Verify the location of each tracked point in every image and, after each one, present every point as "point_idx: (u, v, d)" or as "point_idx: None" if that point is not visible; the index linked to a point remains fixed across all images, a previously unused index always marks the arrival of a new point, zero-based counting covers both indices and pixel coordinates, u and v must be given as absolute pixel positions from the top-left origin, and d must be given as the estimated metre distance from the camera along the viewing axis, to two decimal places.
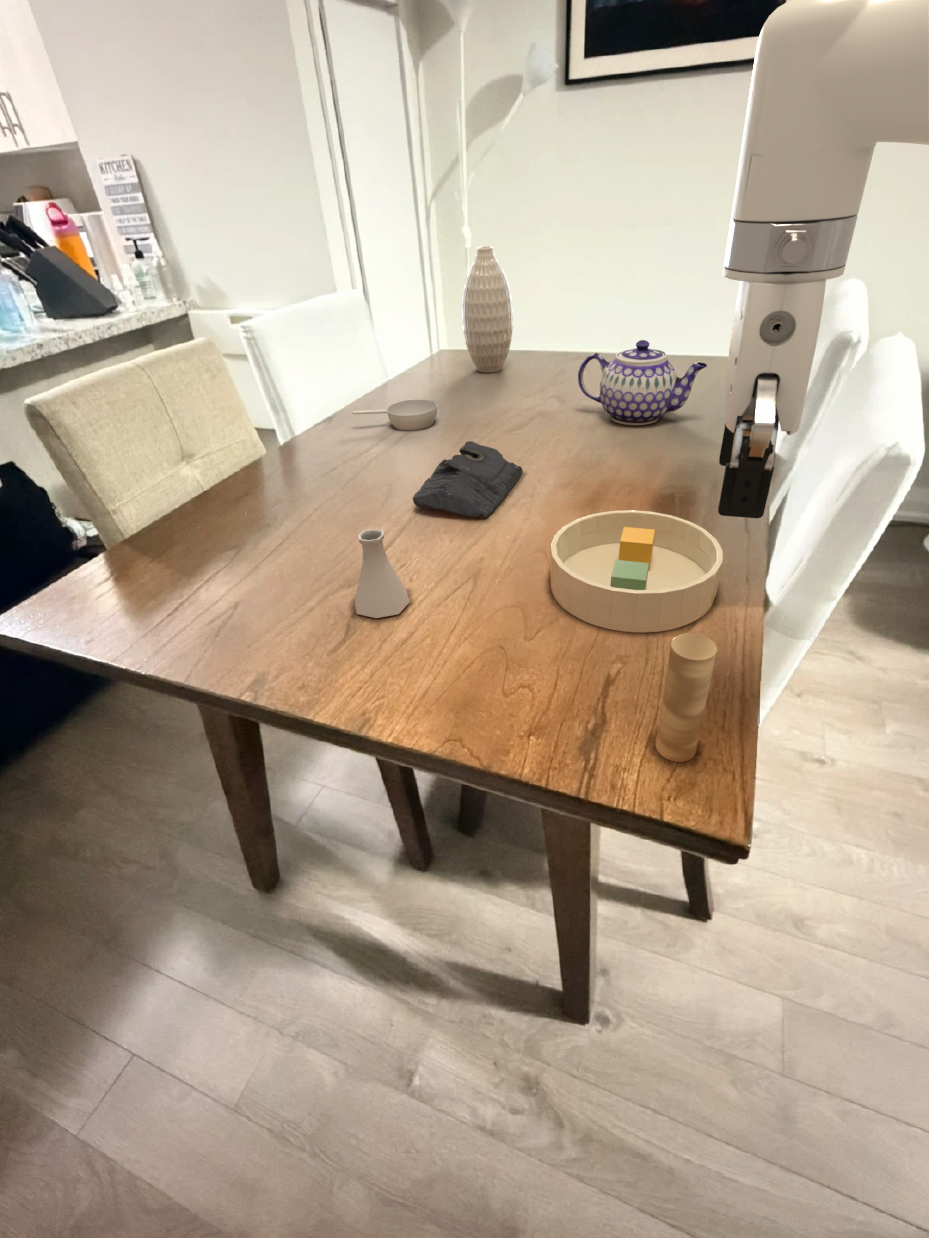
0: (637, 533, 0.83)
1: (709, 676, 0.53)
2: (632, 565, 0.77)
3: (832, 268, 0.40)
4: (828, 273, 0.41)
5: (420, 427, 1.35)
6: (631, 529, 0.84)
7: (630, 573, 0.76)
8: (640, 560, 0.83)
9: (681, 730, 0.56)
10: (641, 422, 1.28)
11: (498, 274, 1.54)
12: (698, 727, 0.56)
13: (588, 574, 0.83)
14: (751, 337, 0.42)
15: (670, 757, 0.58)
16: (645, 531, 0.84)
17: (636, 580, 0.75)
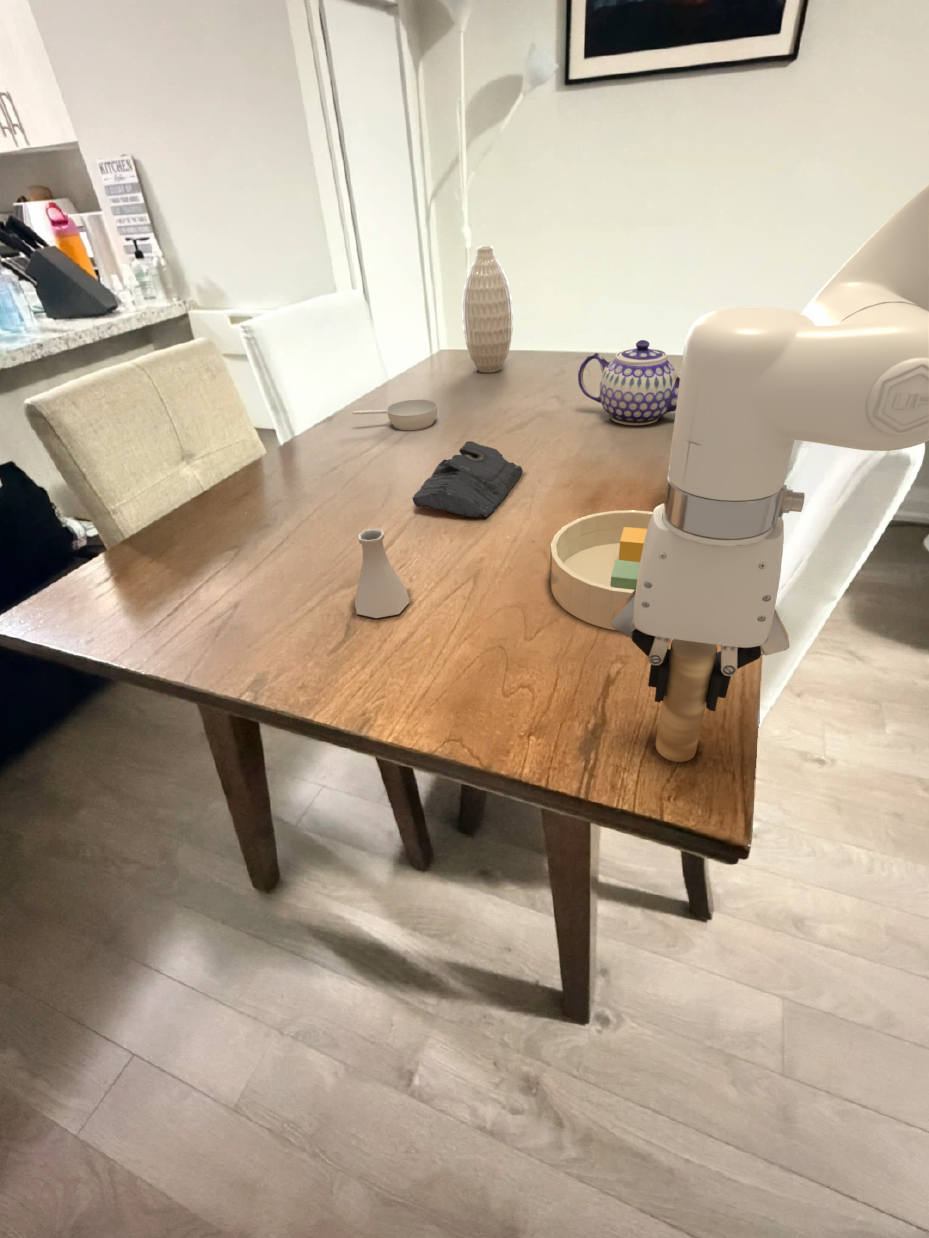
0: (637, 533, 0.83)
1: (709, 676, 0.53)
2: (632, 565, 0.77)
3: None
4: None
5: (420, 427, 1.35)
6: (631, 529, 0.84)
7: (630, 573, 0.76)
8: (640, 560, 0.83)
9: (681, 730, 0.56)
10: (641, 422, 1.28)
11: (498, 274, 1.54)
12: (698, 727, 0.56)
13: (588, 574, 0.83)
14: (779, 574, 0.45)
15: (670, 757, 0.58)
16: (645, 531, 0.84)
17: (636, 580, 0.75)
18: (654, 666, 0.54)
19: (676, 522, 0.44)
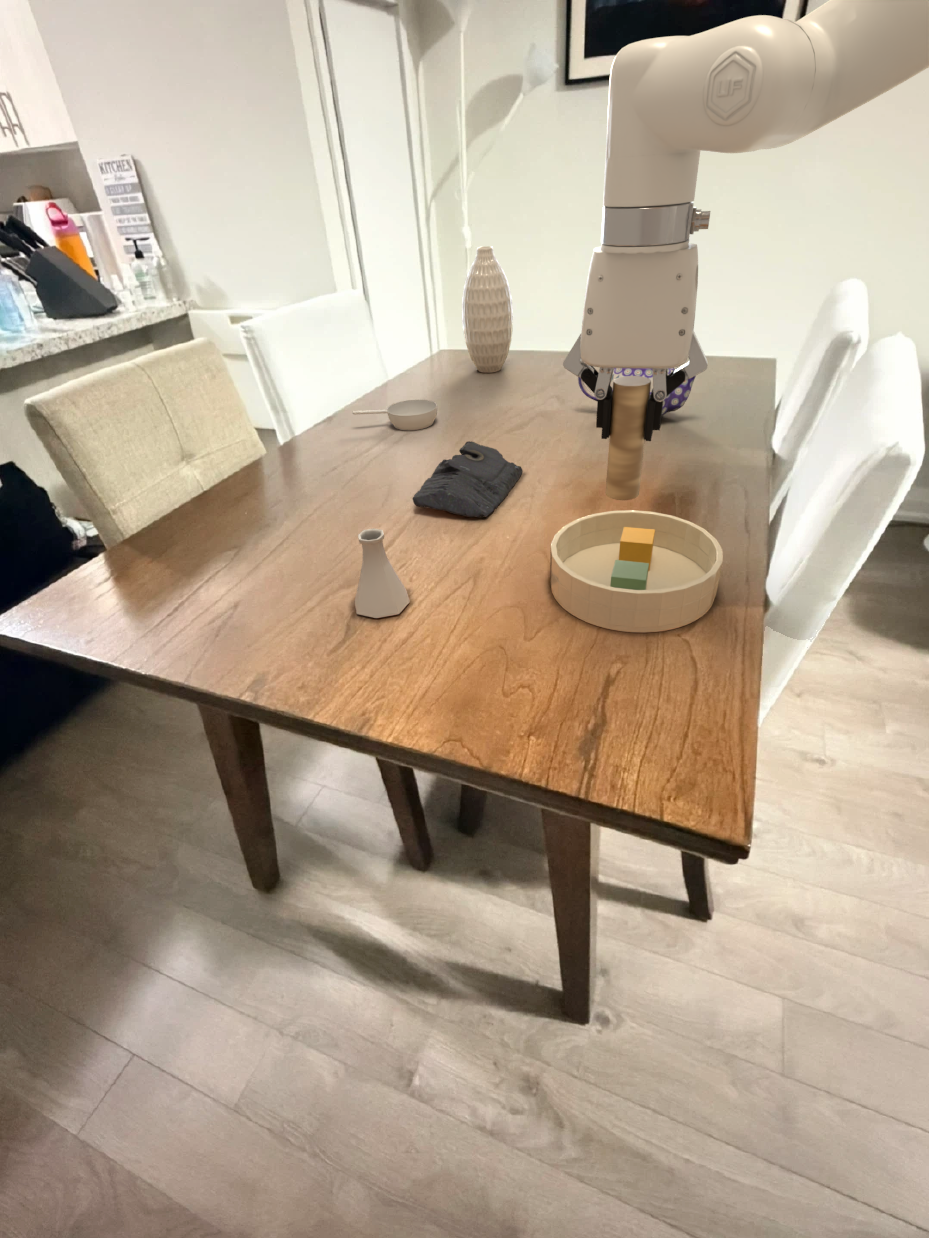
0: (637, 533, 0.83)
1: (645, 407, 0.63)
2: (632, 565, 0.77)
3: None
4: None
5: (420, 427, 1.35)
6: (631, 529, 0.84)
7: (630, 573, 0.76)
8: (640, 560, 0.83)
9: (624, 465, 0.67)
10: None
11: (498, 274, 1.54)
12: (639, 463, 0.67)
13: (588, 574, 0.83)
14: (693, 288, 0.56)
15: (617, 496, 0.69)
16: (645, 531, 0.84)
17: (636, 580, 0.75)
18: (600, 403, 0.65)
19: (609, 240, 0.55)
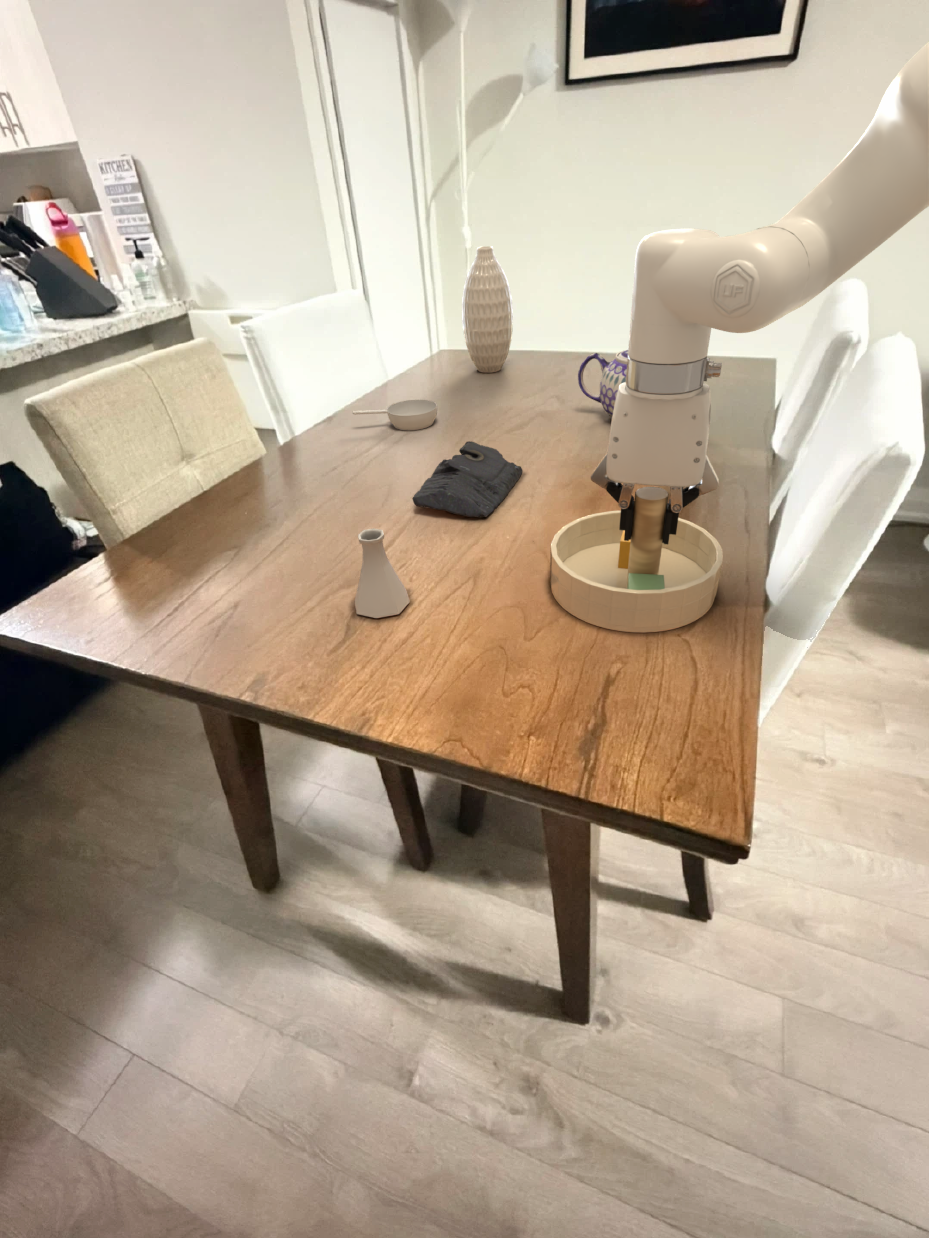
0: None
1: (663, 516, 0.72)
2: (647, 578, 0.74)
3: None
4: None
5: (420, 427, 1.35)
6: None
7: (648, 587, 0.73)
8: None
9: (644, 563, 0.75)
10: None
11: (498, 274, 1.54)
12: (657, 561, 0.75)
13: (588, 574, 0.83)
14: (707, 425, 0.64)
15: None
16: None
17: None
18: (623, 511, 0.73)
19: (633, 386, 0.63)
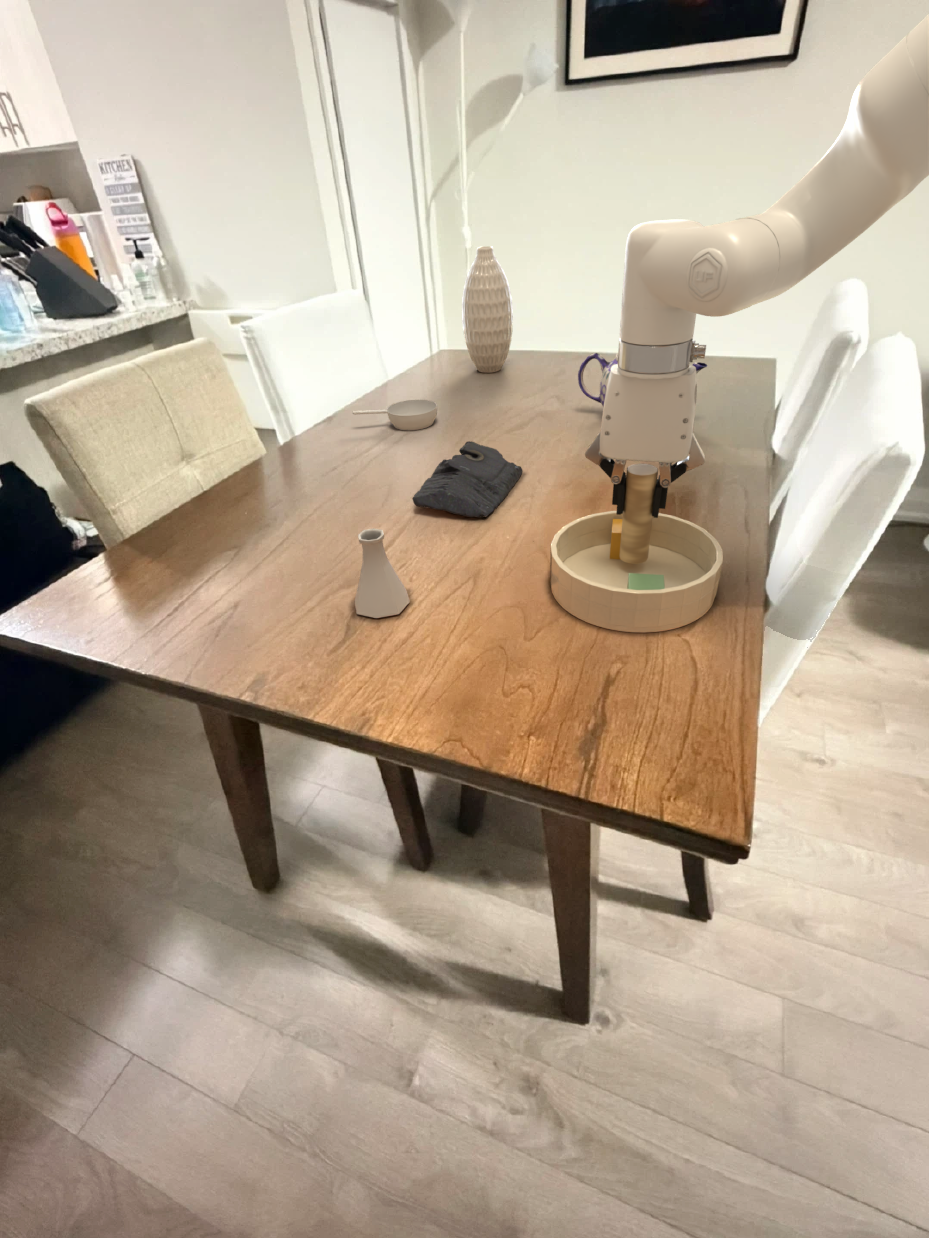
0: None
1: (653, 490, 0.76)
2: (647, 578, 0.74)
3: None
4: None
5: (420, 427, 1.35)
6: (620, 521, 0.86)
7: (648, 587, 0.73)
8: None
9: (635, 536, 0.80)
10: None
11: (498, 274, 1.54)
12: (647, 534, 0.80)
13: (588, 574, 0.83)
14: (693, 403, 0.69)
15: (629, 560, 0.82)
16: None
17: None
18: (615, 486, 0.78)
19: (624, 366, 0.68)
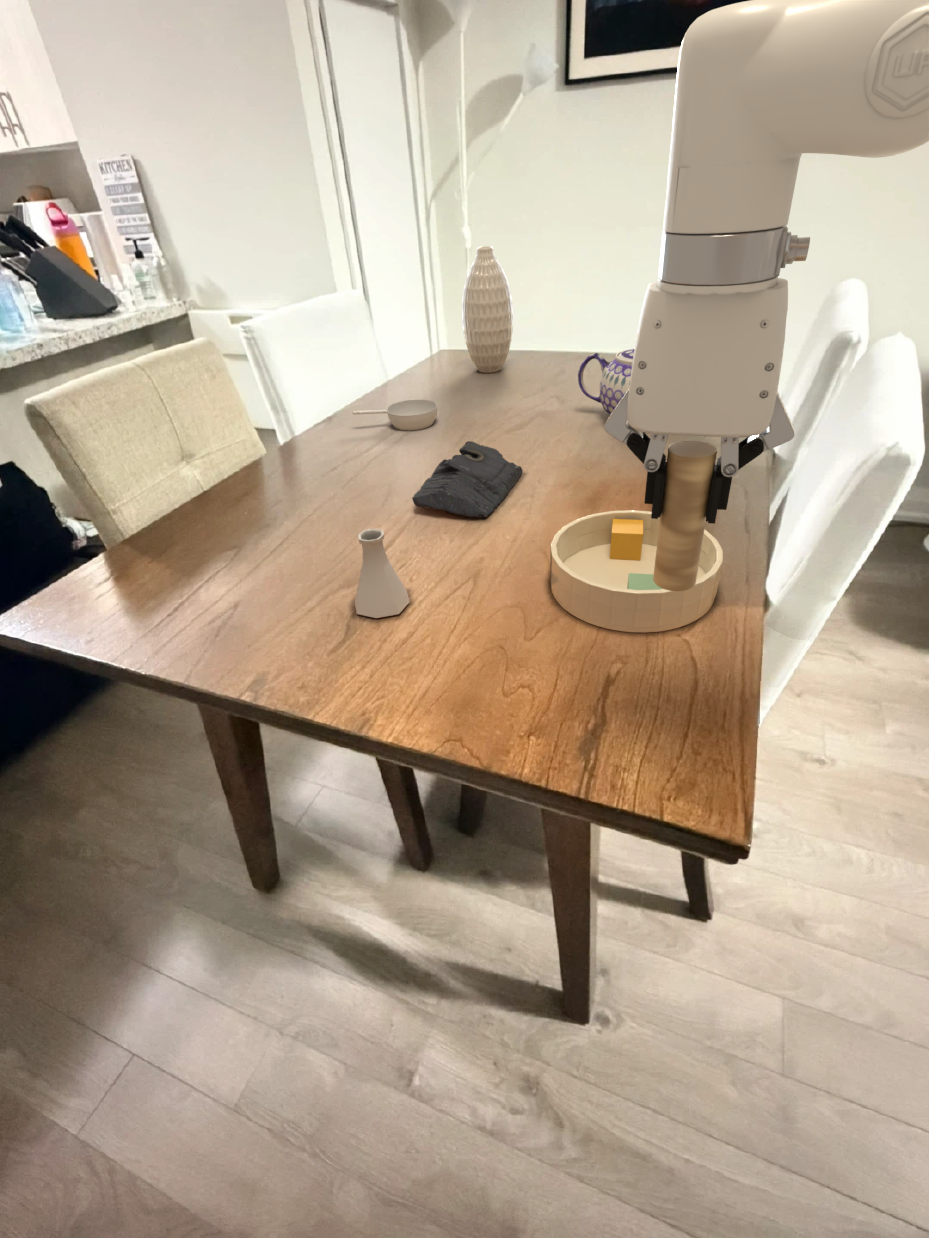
0: (626, 524, 0.85)
1: (709, 482, 0.50)
2: (647, 578, 0.74)
3: None
4: None
5: (420, 427, 1.35)
6: (620, 521, 0.86)
7: (648, 587, 0.73)
8: (631, 551, 0.85)
9: (679, 550, 0.53)
10: None
11: (498, 274, 1.54)
12: (697, 548, 0.53)
13: (588, 574, 0.83)
14: (782, 338, 0.42)
15: (668, 586, 0.55)
16: (634, 522, 0.86)
17: None
18: (650, 476, 0.51)
19: (671, 277, 0.41)
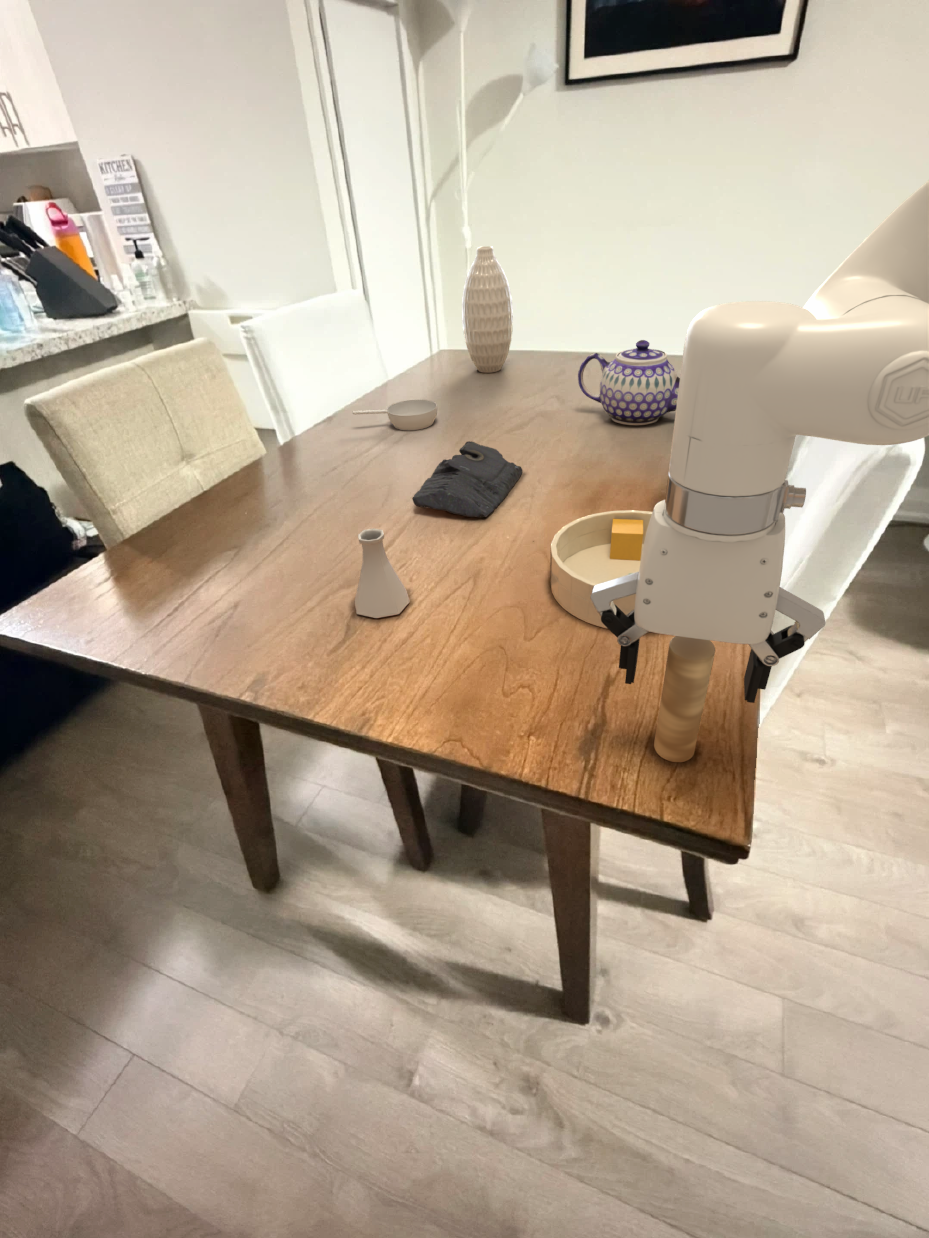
0: (626, 524, 0.85)
1: (707, 676, 0.53)
2: None
3: None
4: None
5: (420, 427, 1.35)
6: (620, 521, 0.86)
7: None
8: (631, 551, 0.85)
9: (680, 731, 0.56)
10: (641, 422, 1.28)
11: (498, 274, 1.54)
12: (696, 727, 0.56)
13: (588, 574, 0.83)
14: (780, 570, 0.45)
15: (669, 757, 0.58)
16: (634, 522, 0.86)
17: None
18: (624, 647, 0.54)
19: (677, 518, 0.44)
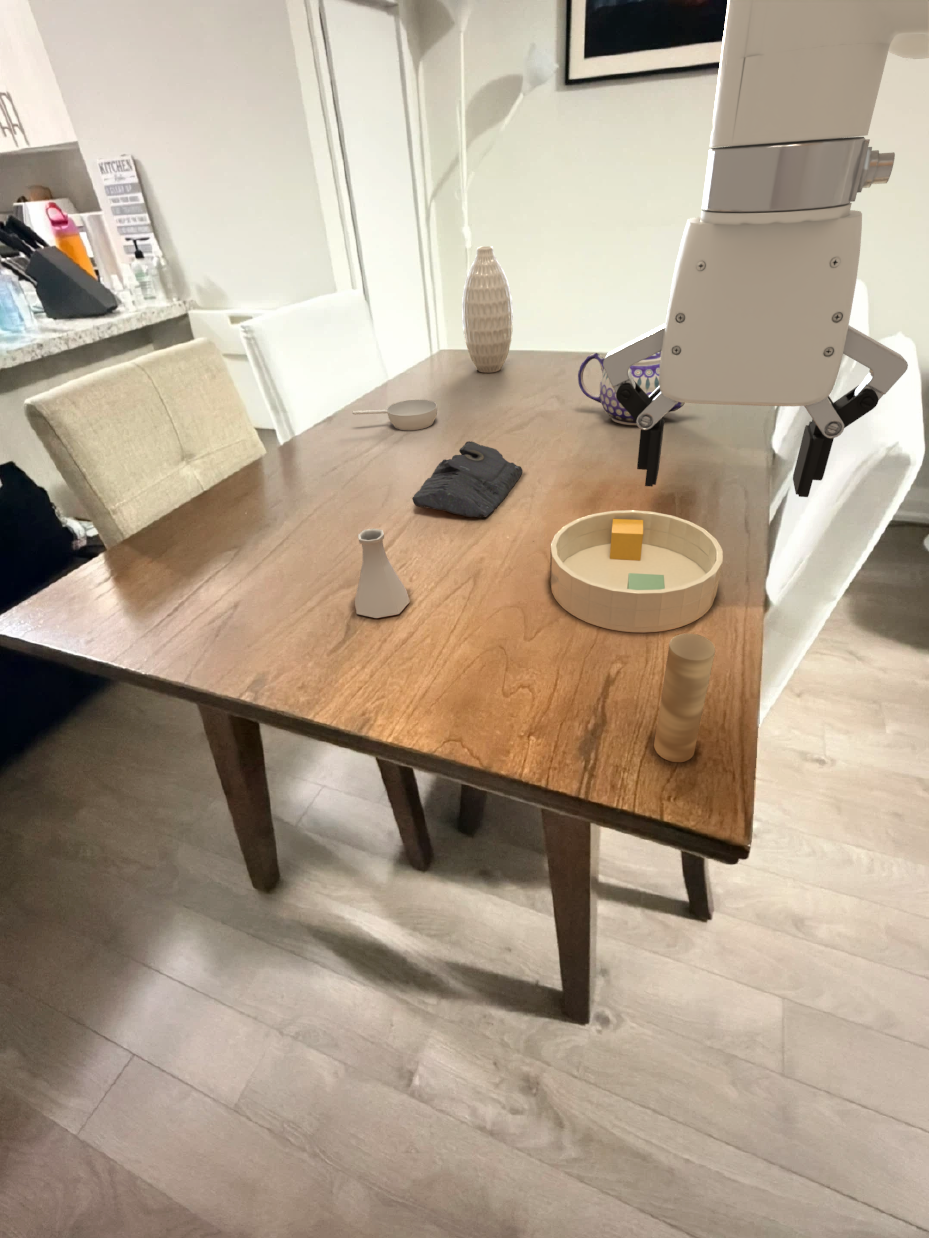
0: (626, 524, 0.85)
1: (707, 676, 0.53)
2: (647, 578, 0.74)
3: None
4: None
5: (420, 427, 1.35)
6: (620, 521, 0.86)
7: (648, 587, 0.73)
8: (631, 551, 0.85)
9: (680, 731, 0.56)
10: None
11: (498, 274, 1.54)
12: (696, 727, 0.56)
13: (588, 574, 0.83)
14: (855, 281, 0.35)
15: (669, 757, 0.58)
16: (634, 522, 0.86)
17: None
18: (644, 435, 0.43)
19: (721, 204, 0.34)
